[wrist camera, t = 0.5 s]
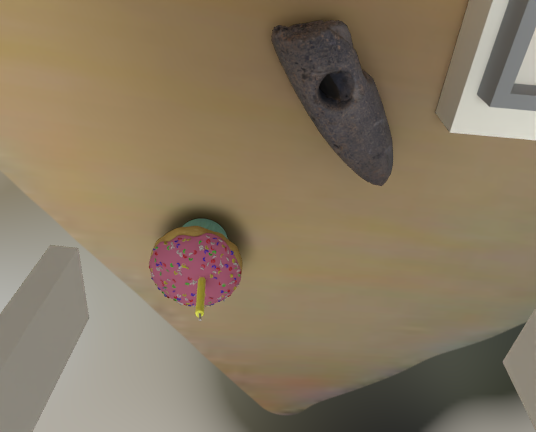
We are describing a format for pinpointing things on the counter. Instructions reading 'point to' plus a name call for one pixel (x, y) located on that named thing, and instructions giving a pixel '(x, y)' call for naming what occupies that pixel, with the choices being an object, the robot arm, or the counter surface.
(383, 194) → the counter surface
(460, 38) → the white box with tray
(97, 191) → the counter surface
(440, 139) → the counter surface
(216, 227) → the cupcake
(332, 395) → the counter surface
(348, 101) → the perforated stone tool
